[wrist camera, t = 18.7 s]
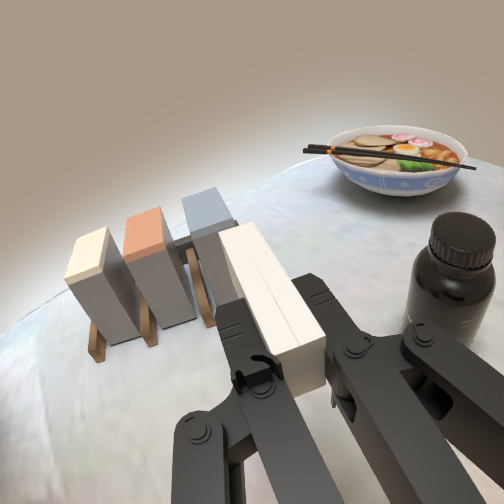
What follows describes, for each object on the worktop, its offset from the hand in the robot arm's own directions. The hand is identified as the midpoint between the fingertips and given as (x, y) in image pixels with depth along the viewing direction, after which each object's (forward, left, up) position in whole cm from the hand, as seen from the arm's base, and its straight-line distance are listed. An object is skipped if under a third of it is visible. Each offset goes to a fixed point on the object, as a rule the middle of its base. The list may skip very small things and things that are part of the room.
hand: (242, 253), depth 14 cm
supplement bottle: (+14, +3, -16) cm, 21 cm away
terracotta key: (-10, +16, -16) cm, 25 cm away
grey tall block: (-17, +15, -16) cm, 27 cm away
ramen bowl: (+24, +32, -16) cm, 43 cm away
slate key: (-4, +17, -16) cm, 24 cm away
